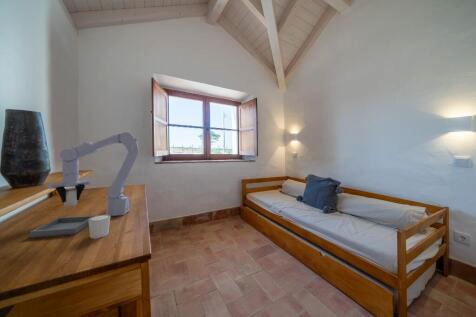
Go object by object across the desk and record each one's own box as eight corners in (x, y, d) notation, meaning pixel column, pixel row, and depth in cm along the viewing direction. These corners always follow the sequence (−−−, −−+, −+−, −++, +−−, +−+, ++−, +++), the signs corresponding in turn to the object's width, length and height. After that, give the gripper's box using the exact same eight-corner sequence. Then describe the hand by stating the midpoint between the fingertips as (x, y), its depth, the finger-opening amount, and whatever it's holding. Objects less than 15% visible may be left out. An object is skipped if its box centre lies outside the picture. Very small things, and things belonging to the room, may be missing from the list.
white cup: (85, 240, 62) (85, 222, 62) (91, 232, 68) (91, 215, 68) (108, 237, 65) (108, 219, 65) (111, 229, 71) (112, 213, 71)
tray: (95, 220, 79) (95, 215, 79) (75, 234, 66) (75, 228, 66) (58, 223, 76) (58, 217, 76) (29, 238, 62) (29, 231, 62)
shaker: (79, 203, 84) (79, 188, 84) (73, 206, 80) (73, 189, 80) (68, 204, 83) (68, 188, 83) (61, 206, 79) (61, 190, 79)
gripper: (86, 171, 89) (86, 196, 90) (46, 174, 77) (46, 203, 77) (92, 172, 86) (91, 198, 86) (50, 175, 73) (50, 205, 74)
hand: (70, 200), depth 82 cm, fingers closed on shaker, 4 cm apart
